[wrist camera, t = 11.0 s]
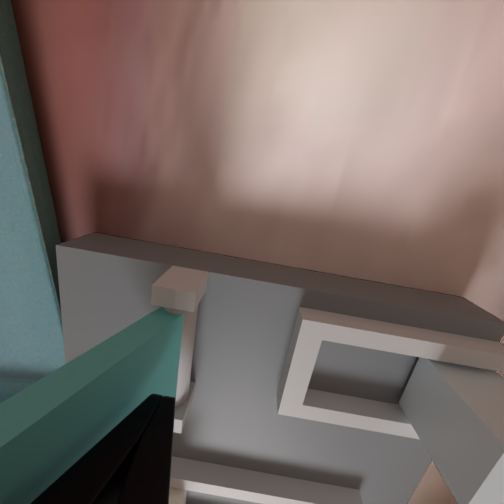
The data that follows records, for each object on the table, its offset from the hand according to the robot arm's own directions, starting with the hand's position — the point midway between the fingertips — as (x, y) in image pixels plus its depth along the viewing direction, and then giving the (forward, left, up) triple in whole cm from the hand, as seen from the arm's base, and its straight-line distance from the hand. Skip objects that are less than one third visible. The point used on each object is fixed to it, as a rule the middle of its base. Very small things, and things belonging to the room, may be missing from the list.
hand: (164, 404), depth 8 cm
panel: (-4, +6, -6) cm, 9 cm away
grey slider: (-12, 0, -4) cm, 12 cm away
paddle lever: (0, 0, -3) cm, 3 cm away
